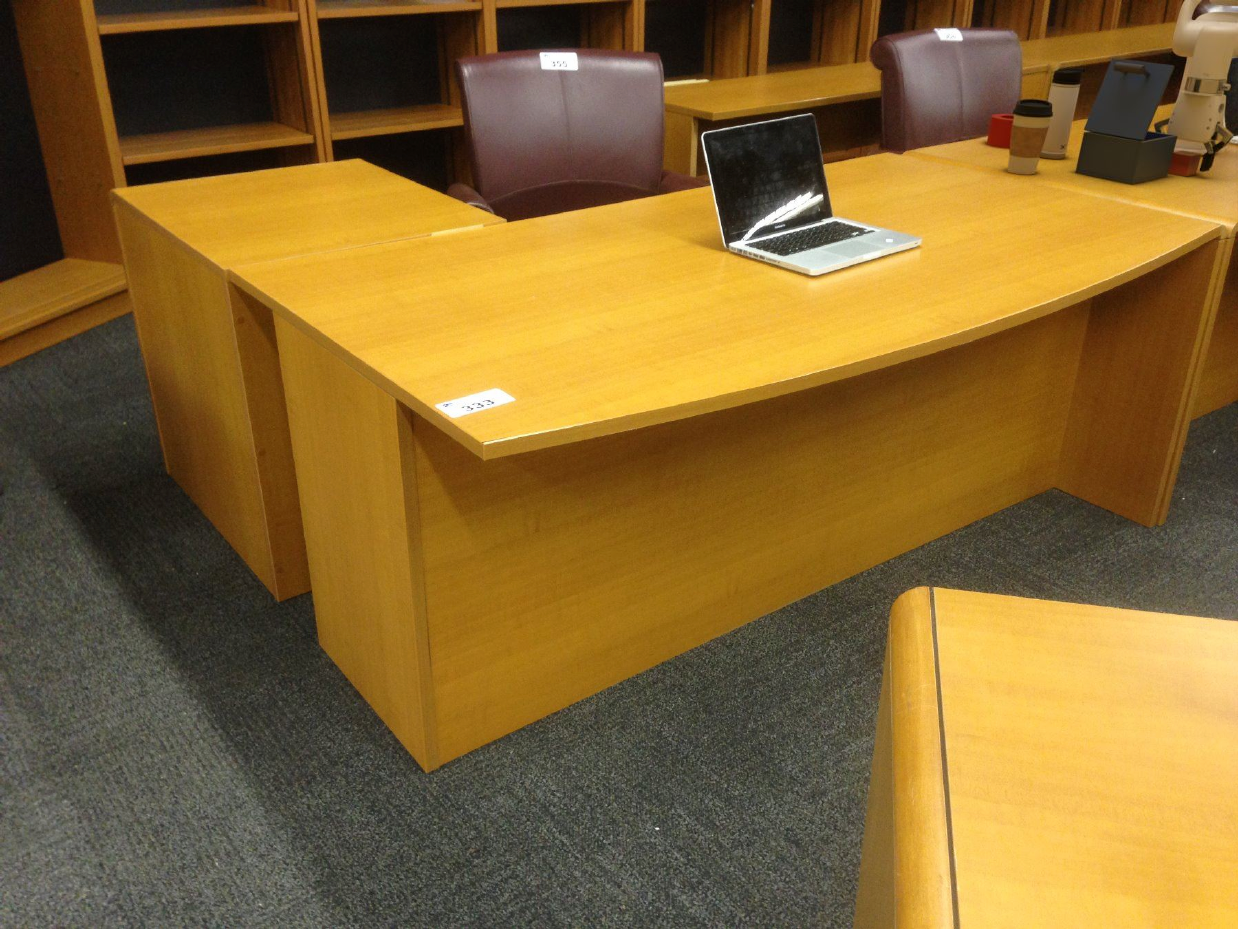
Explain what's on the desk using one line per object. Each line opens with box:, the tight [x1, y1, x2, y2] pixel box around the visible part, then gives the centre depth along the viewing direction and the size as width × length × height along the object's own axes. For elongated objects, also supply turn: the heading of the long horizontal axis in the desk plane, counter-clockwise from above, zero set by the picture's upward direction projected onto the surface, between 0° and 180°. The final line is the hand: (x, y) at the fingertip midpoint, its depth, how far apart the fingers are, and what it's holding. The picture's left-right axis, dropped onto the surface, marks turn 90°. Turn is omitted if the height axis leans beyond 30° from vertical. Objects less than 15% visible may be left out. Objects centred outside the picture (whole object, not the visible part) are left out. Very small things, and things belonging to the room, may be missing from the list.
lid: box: [1083, 57, 1175, 141], centre depth 222 cm, size 15×14×6 cm
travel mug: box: [1040, 67, 1086, 160], centre depth 246 cm, size 6×7×20 cm
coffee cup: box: [1007, 98, 1053, 176], centre depth 231 cm, size 8×8×15 cm
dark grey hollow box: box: [1075, 130, 1178, 185], centre depth 232 cm, size 15×14×9 cm
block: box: [1168, 150, 1202, 177], centre depth 235 cm, size 4×4×4 cm
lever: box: [986, 113, 1014, 149], centre depth 259 cm, size 18×9×7 cm, turn 59°
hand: (1183, 166), depth 236 cm, fingers open, 9 cm apart
